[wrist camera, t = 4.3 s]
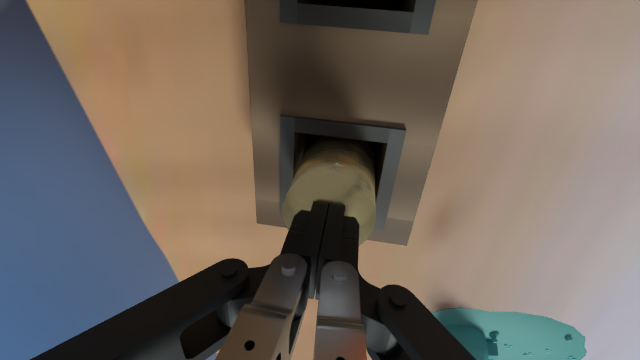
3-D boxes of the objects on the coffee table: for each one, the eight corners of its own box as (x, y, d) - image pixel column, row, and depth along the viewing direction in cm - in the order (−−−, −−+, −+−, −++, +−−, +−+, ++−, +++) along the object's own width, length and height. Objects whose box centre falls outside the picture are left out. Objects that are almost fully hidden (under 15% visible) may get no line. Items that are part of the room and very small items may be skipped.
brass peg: (305, 126, 18) (282, 169, 13) (380, 135, 17) (383, 183, 13) (303, 188, 20) (282, 244, 15) (368, 197, 20) (368, 258, 15)
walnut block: (279, -161, 15) (228, -253, 10) (484, -155, 14) (554, -254, 9) (279, 179, 25) (255, 225, 20) (399, 195, 24) (407, 248, 19)
